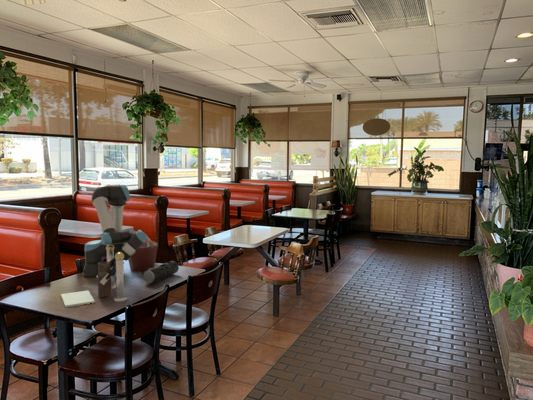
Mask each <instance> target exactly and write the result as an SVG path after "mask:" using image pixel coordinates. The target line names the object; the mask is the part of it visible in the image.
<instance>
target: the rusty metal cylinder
mask: <svg viewBox="0 0 533 400" xmlns="http://www.w3.org/2000/svg"><path fill="white" fill-rule="evenodd" d="M110 270H111V263H109V262H107V261H103V262H98V278H97V294H98V298H104V297H108V296H111V294H112V290H111V277H110V279H109V280H108V281H107V282H106V283H105V284H104V285H103V284H102V283H100V281H101V280H102V279H103V278H104V277H105V276H106V275H107V274H108V272H110Z"/></svg>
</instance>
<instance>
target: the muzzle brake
mask: <svg viewBox="0 0 533 400" xmlns="http://www.w3.org/2000/svg"><path fill="white" fill-rule="evenodd" d="M178 271H179V264H178V262H176V261H175V260H170V261H168V262H164V263H162V264H160V265H157V266H154V268H150V269H148V270H146V271H145V272H143V274H142V275H143V281H144V282H145V283H147V284H156V283H158V282H159V281H160V280H163V279H166V278H170V277H171V276H174V275H175V274H176V273H177V272H178Z"/></svg>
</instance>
